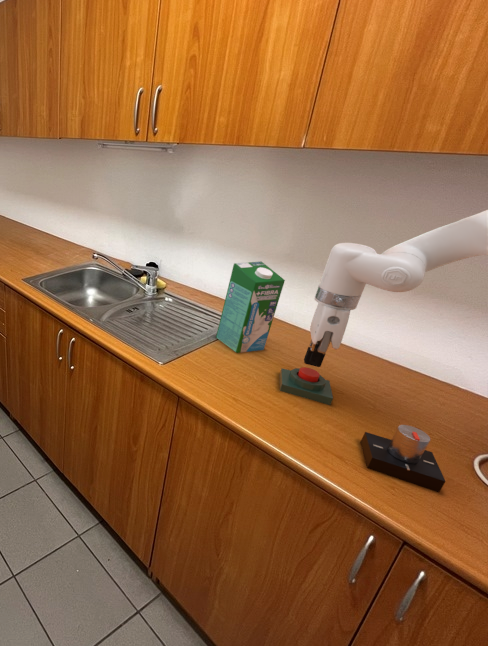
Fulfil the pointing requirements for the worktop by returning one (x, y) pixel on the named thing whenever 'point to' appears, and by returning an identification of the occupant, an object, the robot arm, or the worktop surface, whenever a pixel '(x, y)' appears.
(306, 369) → the button
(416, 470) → the dial panel
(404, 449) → the dial
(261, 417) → the worktop surface
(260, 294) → the milk carton
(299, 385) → the button block
